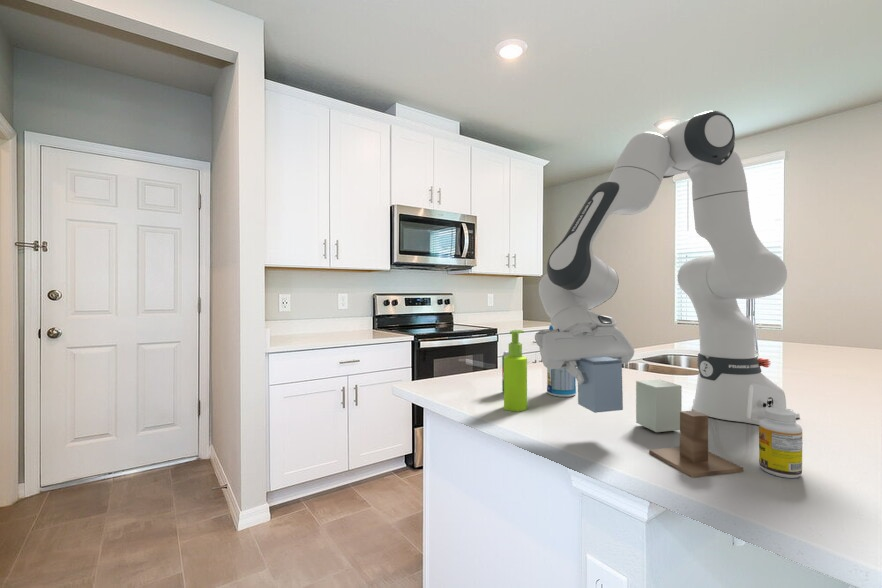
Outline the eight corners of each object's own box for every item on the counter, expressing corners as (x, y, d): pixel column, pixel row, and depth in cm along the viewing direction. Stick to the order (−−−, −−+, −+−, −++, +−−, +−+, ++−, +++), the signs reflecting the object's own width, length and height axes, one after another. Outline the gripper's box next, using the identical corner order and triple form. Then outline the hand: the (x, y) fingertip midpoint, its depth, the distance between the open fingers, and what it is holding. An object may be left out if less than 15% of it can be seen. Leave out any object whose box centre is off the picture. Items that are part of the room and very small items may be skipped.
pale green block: (660, 423, 93) (660, 379, 93) (681, 432, 87) (681, 385, 87) (636, 425, 92) (636, 380, 92) (656, 435, 86) (655, 387, 85)
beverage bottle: (561, 399, 114) (561, 327, 113) (540, 392, 121) (540, 325, 121) (582, 395, 118) (582, 325, 118) (560, 388, 125) (560, 323, 125)
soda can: (519, 395, 118) (519, 354, 117) (501, 395, 119) (501, 353, 118) (519, 391, 122) (519, 351, 122) (502, 390, 123) (502, 351, 123)
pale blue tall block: (604, 401, 88) (603, 355, 88) (622, 409, 82) (621, 360, 81) (578, 404, 86) (577, 357, 86) (594, 412, 80) (593, 362, 80)
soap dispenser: (531, 405, 107) (531, 329, 107) (522, 412, 101) (521, 332, 101) (510, 402, 110) (510, 328, 110) (500, 409, 105) (499, 331, 104)
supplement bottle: (759, 461, 72) (759, 404, 72) (801, 470, 69) (801, 410, 68) (757, 473, 68) (758, 411, 68) (802, 483, 64) (802, 418, 64)
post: (695, 448, 78) (695, 403, 78) (743, 471, 68) (743, 420, 68) (649, 453, 76) (649, 407, 76) (692, 477, 66) (692, 424, 66)
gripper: (536, 322, 89) (558, 376, 79) (620, 317, 93) (651, 369, 83) (528, 340, 93) (549, 393, 84) (609, 335, 97) (637, 385, 88)
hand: (601, 381), depth 83 cm, fingers closed on pale blue tall block, 6 cm apart
